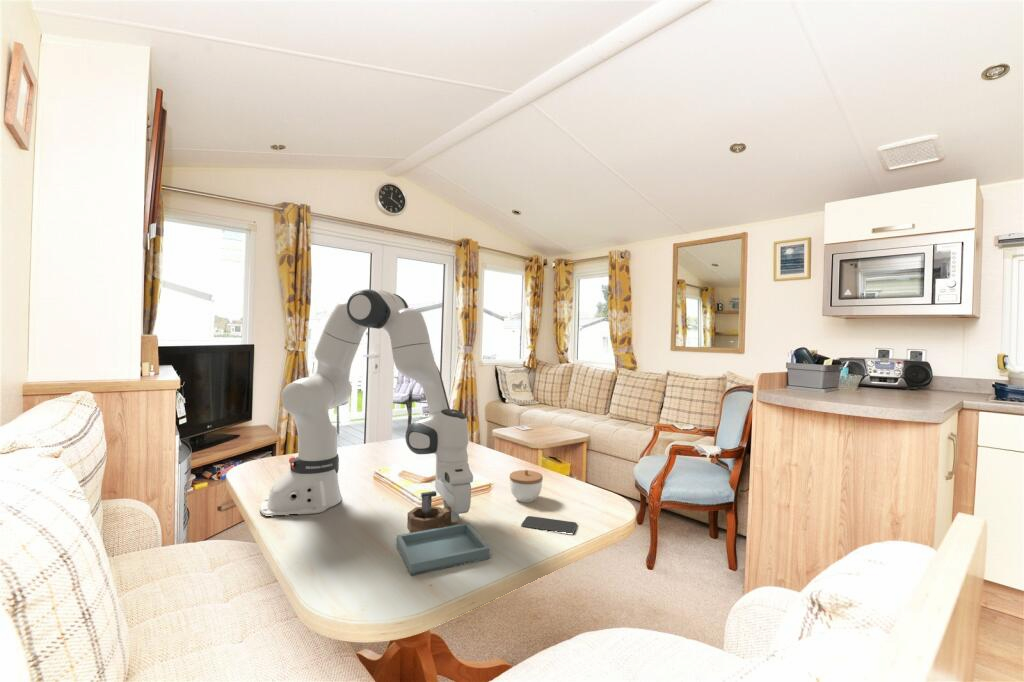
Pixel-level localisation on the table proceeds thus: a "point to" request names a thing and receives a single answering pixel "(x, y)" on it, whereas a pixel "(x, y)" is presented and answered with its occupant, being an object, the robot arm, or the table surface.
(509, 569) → the table surface
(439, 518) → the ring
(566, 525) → the smartphone
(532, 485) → the lidded jar
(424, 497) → the stake
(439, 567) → the tray
